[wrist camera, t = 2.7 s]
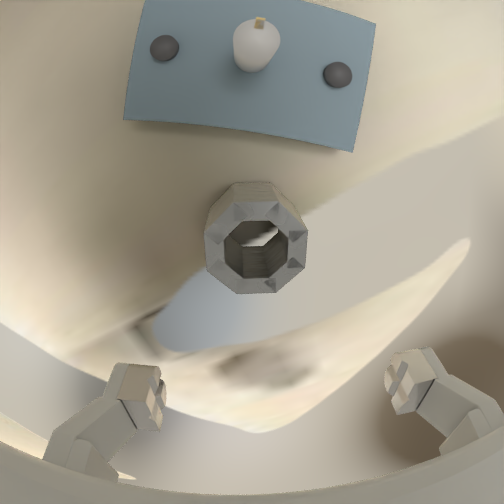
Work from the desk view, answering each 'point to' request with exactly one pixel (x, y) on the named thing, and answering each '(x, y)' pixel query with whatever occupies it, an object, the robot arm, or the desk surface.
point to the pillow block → (252, 68)
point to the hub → (257, 257)
